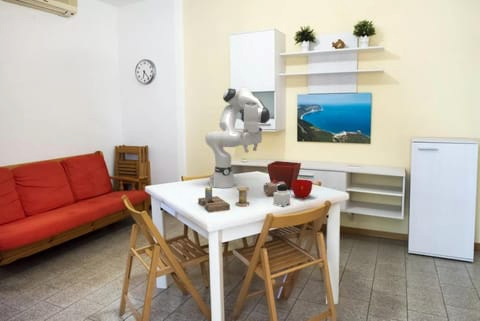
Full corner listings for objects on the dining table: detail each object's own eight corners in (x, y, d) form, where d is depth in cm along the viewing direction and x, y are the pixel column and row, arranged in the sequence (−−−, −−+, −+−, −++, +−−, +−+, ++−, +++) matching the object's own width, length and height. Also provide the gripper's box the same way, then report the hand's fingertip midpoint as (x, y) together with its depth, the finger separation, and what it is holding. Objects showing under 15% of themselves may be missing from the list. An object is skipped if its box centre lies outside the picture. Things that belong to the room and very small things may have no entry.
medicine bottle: (290, 204, 215) (290, 184, 213) (283, 206, 210) (283, 186, 208) (280, 202, 220) (280, 182, 218) (273, 204, 215) (273, 184, 213)
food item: (266, 197, 232) (266, 181, 230) (262, 194, 239) (263, 179, 238) (287, 195, 235) (287, 180, 233) (282, 193, 243) (283, 178, 241)
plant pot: (300, 185, 263) (301, 162, 261) (293, 191, 246) (293, 166, 244) (275, 183, 271) (276, 160, 269) (266, 188, 254) (266, 164, 252)
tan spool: (233, 203, 217) (233, 186, 215) (246, 202, 220) (246, 185, 218) (239, 206, 209) (239, 189, 208) (251, 205, 213) (251, 188, 211)
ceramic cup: (290, 201, 222) (291, 184, 221) (291, 194, 239) (291, 179, 237) (312, 202, 220) (313, 185, 219) (311, 195, 237) (312, 179, 235)
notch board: (198, 203, 217) (198, 198, 217) (217, 200, 222) (217, 196, 222) (209, 212, 199) (209, 206, 199) (229, 209, 204) (229, 204, 204)
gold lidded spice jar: (204, 206, 211) (204, 187, 209) (211, 205, 212) (211, 187, 210) (205, 208, 207) (205, 189, 205) (212, 207, 208) (212, 189, 206)
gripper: (245, 130, 215) (245, 154, 217) (263, 128, 231) (263, 150, 234) (236, 130, 218) (236, 153, 221) (255, 128, 235) (255, 149, 237)
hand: (250, 151), depth 227 cm, fingers open, 8 cm apart
